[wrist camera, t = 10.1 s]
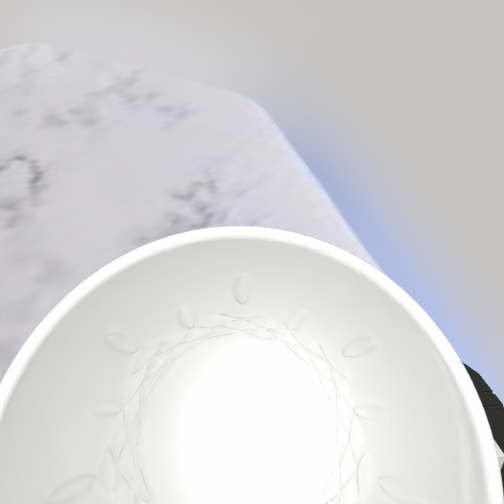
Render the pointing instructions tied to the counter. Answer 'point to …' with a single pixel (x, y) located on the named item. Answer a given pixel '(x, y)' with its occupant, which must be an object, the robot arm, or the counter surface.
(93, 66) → the counter surface
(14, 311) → the counter surface
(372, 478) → the white cup
